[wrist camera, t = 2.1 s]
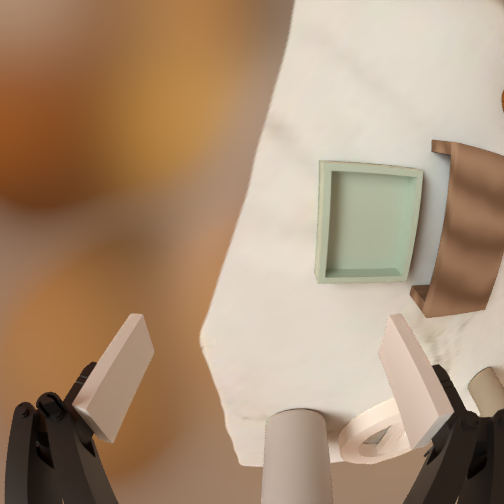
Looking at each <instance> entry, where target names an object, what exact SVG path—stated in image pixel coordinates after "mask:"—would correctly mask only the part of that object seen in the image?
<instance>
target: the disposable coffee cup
mask: <svg viewBox="0 0 504 504" xmlns="http://www.w3.org/2000/svg"><path fill="white" fill-rule="evenodd" d="M502 107H503V111H504V91H503V93H502Z"/></svg>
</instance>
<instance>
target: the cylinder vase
mask: <svg viewBox="0 0 504 504" xmlns="http://www.w3.org/2000/svg"><path fill="white" fill-rule="evenodd" d="M261 504H333V491H332V478H331V467H330V457H329V447H328V438H327V430H326V421H325V419H324V417H323V416H322V415H321V414H319V413H318V412H315V411H312V410H306V409H294V410H287V411H283V412H280V413H278V414H275V415H274V416H272V417H271V418H270V419H269V420H268V421H267V423H266V427H265V447H264V464H263V481H262V497H261Z"/></svg>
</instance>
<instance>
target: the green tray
mask: <svg viewBox="0 0 504 504" xmlns="http://www.w3.org/2000/svg"><path fill="white" fill-rule="evenodd" d="M422 181H423V171H421V170H417V169H414V168H409V167H401V166H392V165H381V164H370V163H356V162H340V161H319V197H318V223H317V242H316V258H315V276H316V279H317V283H318V284H336V283H375V282H402V281H407V277H408V272H409V268H410V263H411V258H412V253H413V248H414V242H415V237H416V230H417V224H418V217H419V209H420V201H421V192H422Z"/></svg>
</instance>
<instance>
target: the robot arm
mask: <svg viewBox="0 0 504 504" xmlns="http://www.w3.org/2000/svg"><path fill="white" fill-rule="evenodd" d="M153 354H154V349H153V346H152V343H151V339H150V336H149V333H148V330H147V326H146V323H145V320H144V316H143V314H130V316H129V317H128V318H127V320H126V321H125V323H124V324H123V326H122V327H121V328H120V330H119V332H118V333H117V334H116V336H115V337H114V339H113V340H112V342H111V343H110V345H109V346H108V348H107V349H106V351H105V353H104V354H103V355H102V357H101V358H100V360H99V362H98V363H96V362H91V363H90V364H89V365H87V366H86V367H85V368H84V369H83V371H82V373H81V374H80V377H78V379H77V380H76V383H74V385H73V386H72V388H71V390H70V391H69V393H68V394H67V396H66V398H65V399H64V401H62V400H61V399H60V397H59V396H58V395H57V394H56V393H53V392H47V393H44V394H42V395H41V396H40V397H39V398H38V400H37V402H36V407H37V408H38V410H36V409H35V408H34V407H33V405H31V404H30V403H28V402H23V403H21V404H19V405H18V406H17V407H16V408H15V411H14V415H13V420H12V425H11V431H10V437H9V444H8V452H7V461H6V473H5V504H63V503H62V498H63V501H64V504H118V501H117V499H116V497H115V495H114V493H113V491H112V488H111V486H110V484H109V481H108V479H107V476H106V474H105V471H104V469H103V466H102V464H101V461H100V458H99V455H98V452H97V449H96V446H95V443H94V441H93V439H92V436H93V434H94V433H95V435H96V436H97V437H98V438H99V439H101V440H103V441H106V442H109V443H113V442H114V440H115V437H116V435H117V433H118V430H119V428H120V426H121V423H122V421H123V418H124V417H125V414H126V412H127V410H128V408H129V405H130V403H131V401H132V399H133V397H134V394H135V392H136V390H137V388H138V386H139V384H140V382H141V379H142V377H143V375H144V373H145V371H146V369H147V367H148V364H149V363H150V360H151V358H152V356H153ZM378 355H379V358H380V360H381V363H382V365H383V368H384V370H385V373H386V376H387V378H388V381H389V384H390V387H391V389H392V392H393V395H394V398H395V401H396V404H397V406H398V409H399V412H400V415H401V418H402V421H403V425H404V428H405V431H406V434H407V437H408V441H409V444H410V447H411V450H414V449H417V448H421V447H424V446H426V445H427V444H428V443H429V442H430V441H431V439H432V442H433V446H432V447H431V448H430V449H429V450H428V451H427V452H426V453H425V455H424V457H426V456H427V455H428V456H427V458H426V460H425V463H424V465H423V467H422V469H421V471H420V473H419V475H418V477H417V479H416V481H415V483H414V485H413V486H412V488H411V490H410V492H409V494H408V495H407V497H406V499H405V501H404V503H403V504H455V502H456V500H457V498H458V502H457V504H504V409H501V410H498V411H497V412H496V413H495V414H494V415H493V416H492V417H478V416H477V414H476V413H474V412H472V411H467V410H466V408H465V406H464V404H463V402H462V400H461V398H460V396H459V394H458V392H457V390H456V388H455V387H454V385H453V383H452V381H450V377H449V375H448V374H447V372H446V370H445V369H443V368H442V367H441V366H440V365H439V364H438V365H433V366H431V364H430V362H429V360H428V358H427V357H426V355H425V353H424V351H423V349H422V348H421V346H420V344H419V342H418V340H417V339H416V337H415V335H414V334H413V332H412V330H411V328H410V327H409V325H408V323H407V322H406V320H405V318H404V317H403V315H402V314H395V315H389V318H388V321H387V325H386V329H385V332H384V335H383V339H382V342H381V345H380V348H379V351H378ZM458 496H459V497H458Z"/></svg>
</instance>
